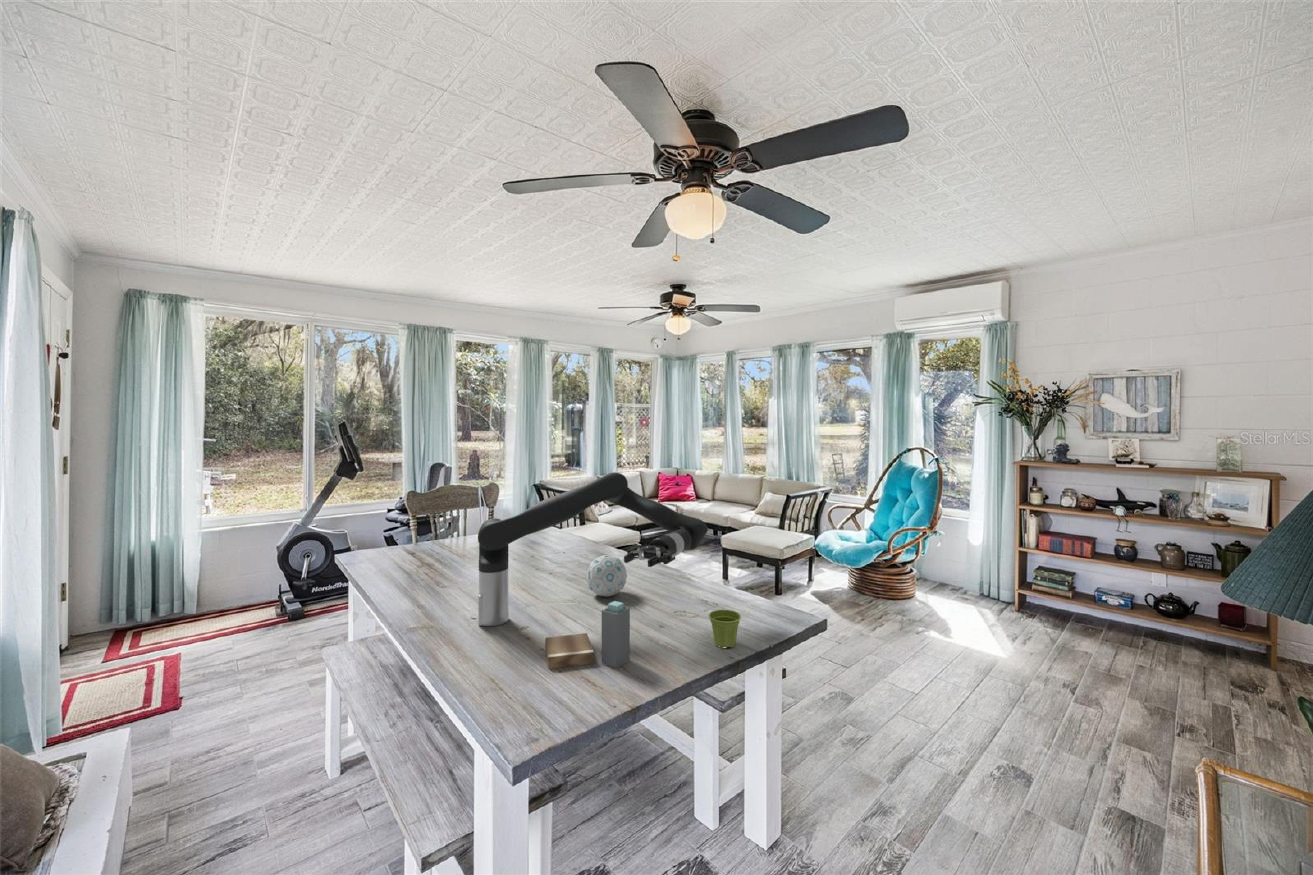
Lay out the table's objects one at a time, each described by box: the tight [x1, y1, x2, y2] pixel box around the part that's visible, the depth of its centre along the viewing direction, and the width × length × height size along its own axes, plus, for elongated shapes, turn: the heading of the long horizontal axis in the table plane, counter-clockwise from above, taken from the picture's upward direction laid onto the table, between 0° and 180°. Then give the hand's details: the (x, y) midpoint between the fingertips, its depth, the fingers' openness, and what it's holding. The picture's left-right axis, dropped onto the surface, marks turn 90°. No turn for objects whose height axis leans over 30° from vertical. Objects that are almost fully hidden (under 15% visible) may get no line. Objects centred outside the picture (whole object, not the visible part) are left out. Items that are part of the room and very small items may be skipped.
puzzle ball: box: [586, 554, 628, 598], centre depth 192 cm, size 15×15×15 cm
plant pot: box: [708, 609, 742, 648], centre depth 150 cm, size 9×9×9 cm
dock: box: [544, 632, 595, 670], centre depth 143 cm, size 12×13×3 cm
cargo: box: [607, 600, 625, 613], centre depth 139 cm, size 3×3×3 cm
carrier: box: [601, 605, 631, 669], centre depth 139 cm, size 6×5×14 cm
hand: (636, 561), depth 147 cm, fingers open, 8 cm apart
